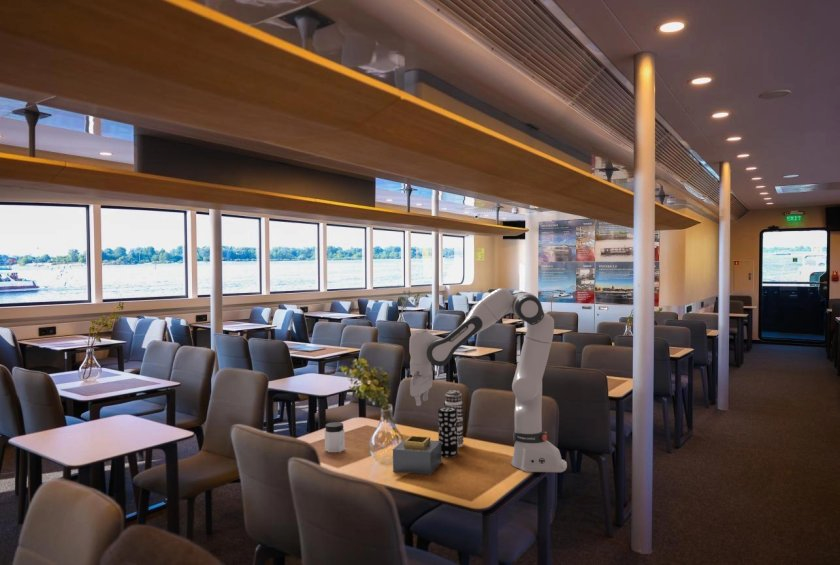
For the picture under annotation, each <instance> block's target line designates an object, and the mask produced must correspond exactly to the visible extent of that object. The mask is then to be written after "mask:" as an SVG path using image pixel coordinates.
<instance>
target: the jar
mask: <svg viewBox="0 0 840 565" xmlns="http://www.w3.org/2000/svg"><path fill="white" fill-rule="evenodd" d="M324 428H325V429H324V451H325V450H326V452H327V451H328V452H327V453H329V452H339V453H342V452H343V451H345V450H346V447H345V446H346V442H345V440H346V439H345V429H344V423H342V422H339V421H336V422H335V421H334V422H328V423H326V424H325V427H324Z"/></svg>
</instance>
